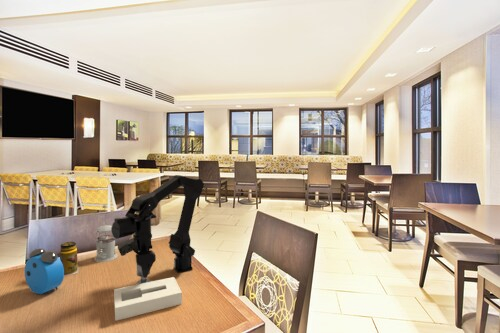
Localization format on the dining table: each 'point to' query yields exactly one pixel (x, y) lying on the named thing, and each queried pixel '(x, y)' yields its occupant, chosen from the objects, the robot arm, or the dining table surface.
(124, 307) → the keyhole board
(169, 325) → the dining table surface
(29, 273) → the alarm clock
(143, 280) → the keyhole peg
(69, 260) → the condiment
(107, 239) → the french press
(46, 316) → the dining table surface
